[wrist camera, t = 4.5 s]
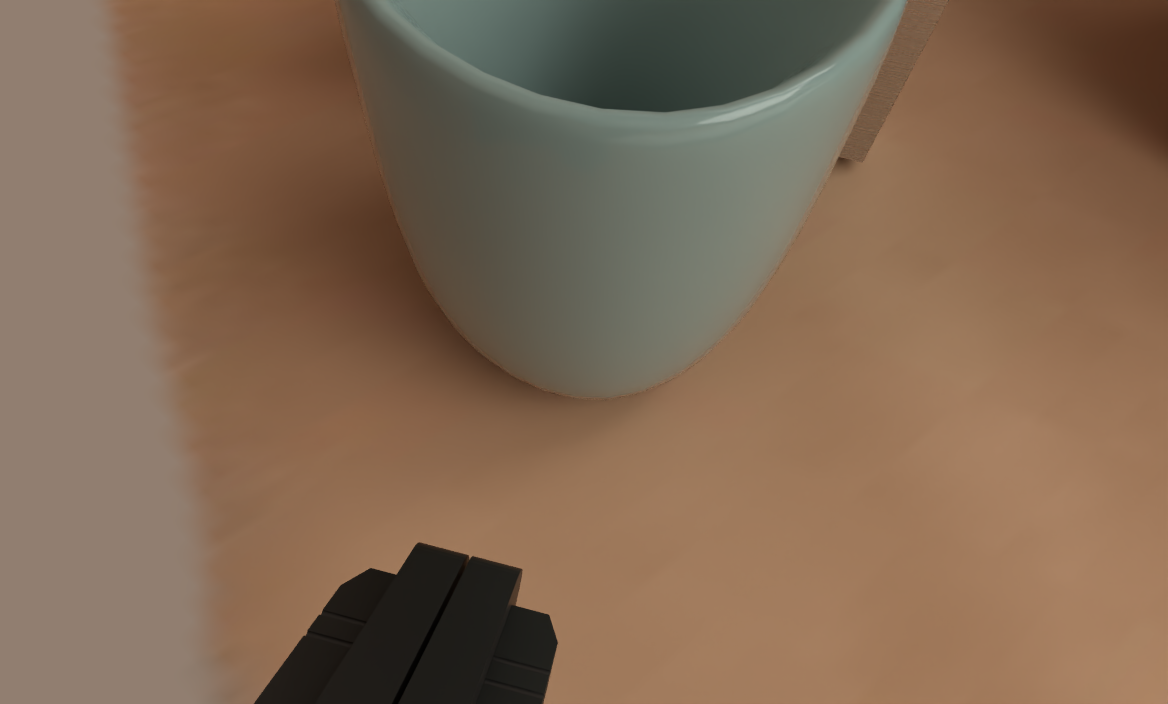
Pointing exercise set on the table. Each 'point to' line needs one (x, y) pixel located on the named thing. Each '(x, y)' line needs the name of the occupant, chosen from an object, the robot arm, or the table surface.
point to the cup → (607, 164)
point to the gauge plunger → (893, 74)
